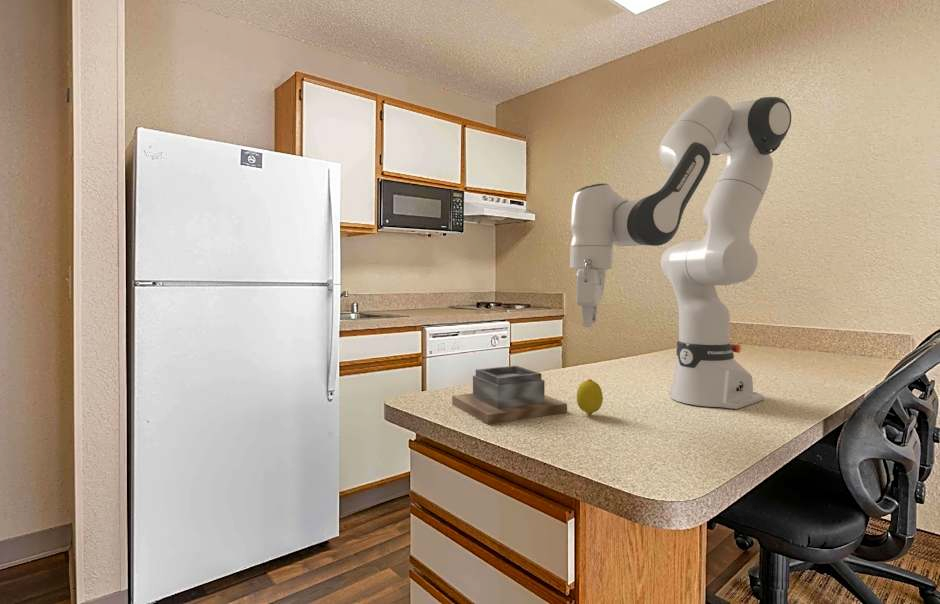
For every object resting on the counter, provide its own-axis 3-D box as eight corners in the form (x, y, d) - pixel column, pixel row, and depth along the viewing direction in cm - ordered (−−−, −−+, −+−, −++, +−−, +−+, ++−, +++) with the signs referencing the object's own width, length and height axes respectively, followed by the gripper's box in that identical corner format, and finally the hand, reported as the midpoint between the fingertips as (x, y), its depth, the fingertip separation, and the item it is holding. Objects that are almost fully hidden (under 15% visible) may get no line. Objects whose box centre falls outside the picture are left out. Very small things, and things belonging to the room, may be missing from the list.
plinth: (523, 394, 127) (523, 361, 126) (566, 412, 111) (567, 374, 110) (452, 404, 118) (452, 368, 118) (487, 424, 102) (487, 383, 101)
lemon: (597, 420, 105) (598, 382, 104) (572, 416, 108) (572, 379, 107) (605, 414, 109) (606, 378, 109) (581, 410, 112) (582, 375, 112)
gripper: (602, 258, 96) (601, 330, 96) (608, 261, 115) (607, 321, 116) (569, 259, 98) (568, 328, 98) (581, 261, 117) (580, 320, 118)
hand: (589, 324), depth 107 cm, fingers open, 8 cm apart
